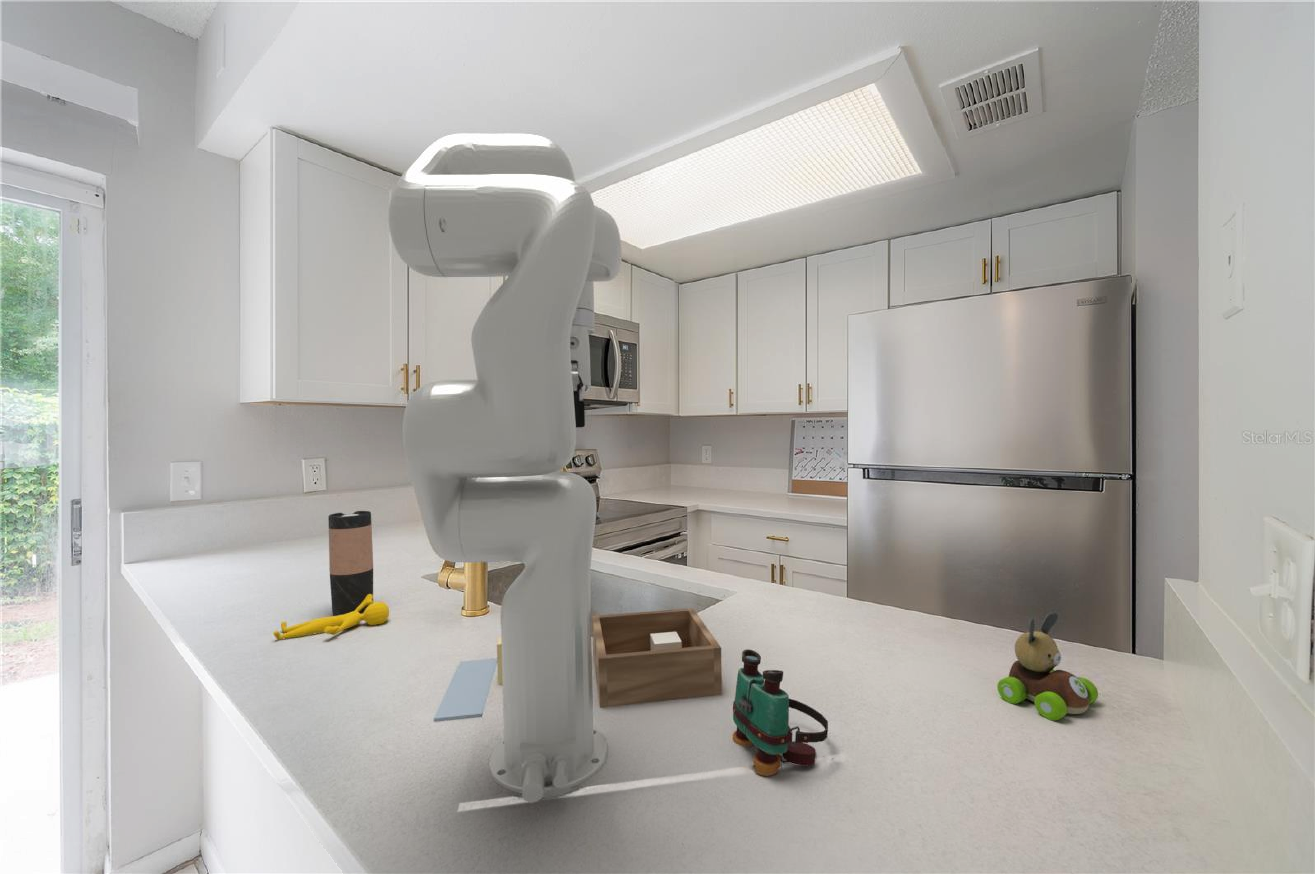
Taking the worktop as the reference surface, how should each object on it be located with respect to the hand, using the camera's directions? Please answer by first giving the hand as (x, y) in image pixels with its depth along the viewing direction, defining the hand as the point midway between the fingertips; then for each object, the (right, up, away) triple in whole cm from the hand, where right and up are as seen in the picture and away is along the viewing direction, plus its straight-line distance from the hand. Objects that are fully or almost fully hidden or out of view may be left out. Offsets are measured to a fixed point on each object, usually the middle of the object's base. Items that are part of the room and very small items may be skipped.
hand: (574, 427), depth 91 cm
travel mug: (-47, -37, +19) cm, 63 cm away
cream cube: (+15, -35, -10) cm, 40 cm away
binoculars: (+27, -37, -30) cm, 55 cm away
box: (+13, -36, -12) cm, 41 cm away
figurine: (-46, -38, +10) cm, 60 cm away
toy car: (+64, -36, -21) cm, 76 cm away
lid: (-7, -37, -13) cm, 40 cm away
